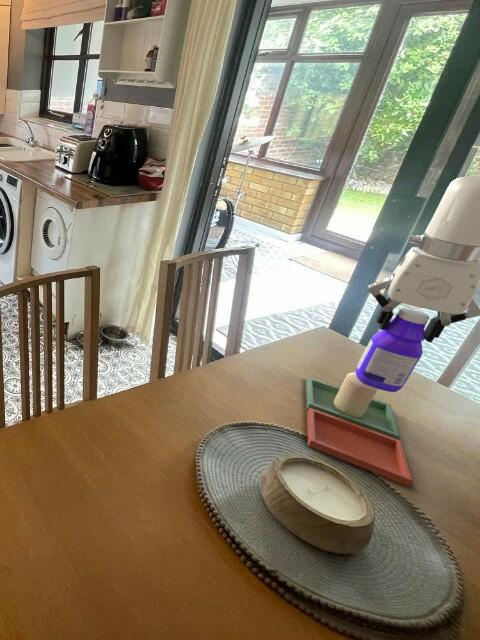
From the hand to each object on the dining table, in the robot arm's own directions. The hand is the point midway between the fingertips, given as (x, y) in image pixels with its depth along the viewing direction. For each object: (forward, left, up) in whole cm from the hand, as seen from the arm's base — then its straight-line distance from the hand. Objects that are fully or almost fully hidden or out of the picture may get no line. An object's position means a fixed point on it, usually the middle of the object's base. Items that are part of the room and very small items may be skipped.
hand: (404, 331), depth 80 cm
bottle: (0, 0, -13) cm, 13 cm away
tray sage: (0, -9, -27) cm, 29 cm away
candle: (0, -9, -27) cm, 28 cm away
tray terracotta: (0, +4, -27) cm, 28 cm away
